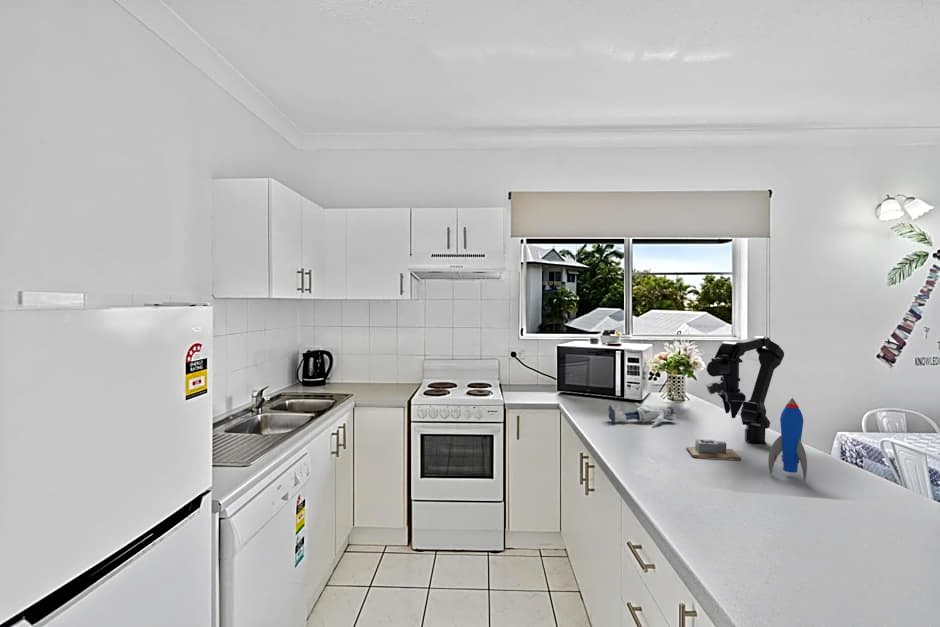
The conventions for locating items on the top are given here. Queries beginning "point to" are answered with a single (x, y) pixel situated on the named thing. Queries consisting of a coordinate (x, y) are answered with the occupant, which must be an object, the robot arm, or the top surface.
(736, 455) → the board
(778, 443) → the toy rocket
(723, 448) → the link
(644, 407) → the toy
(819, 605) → the top surface
